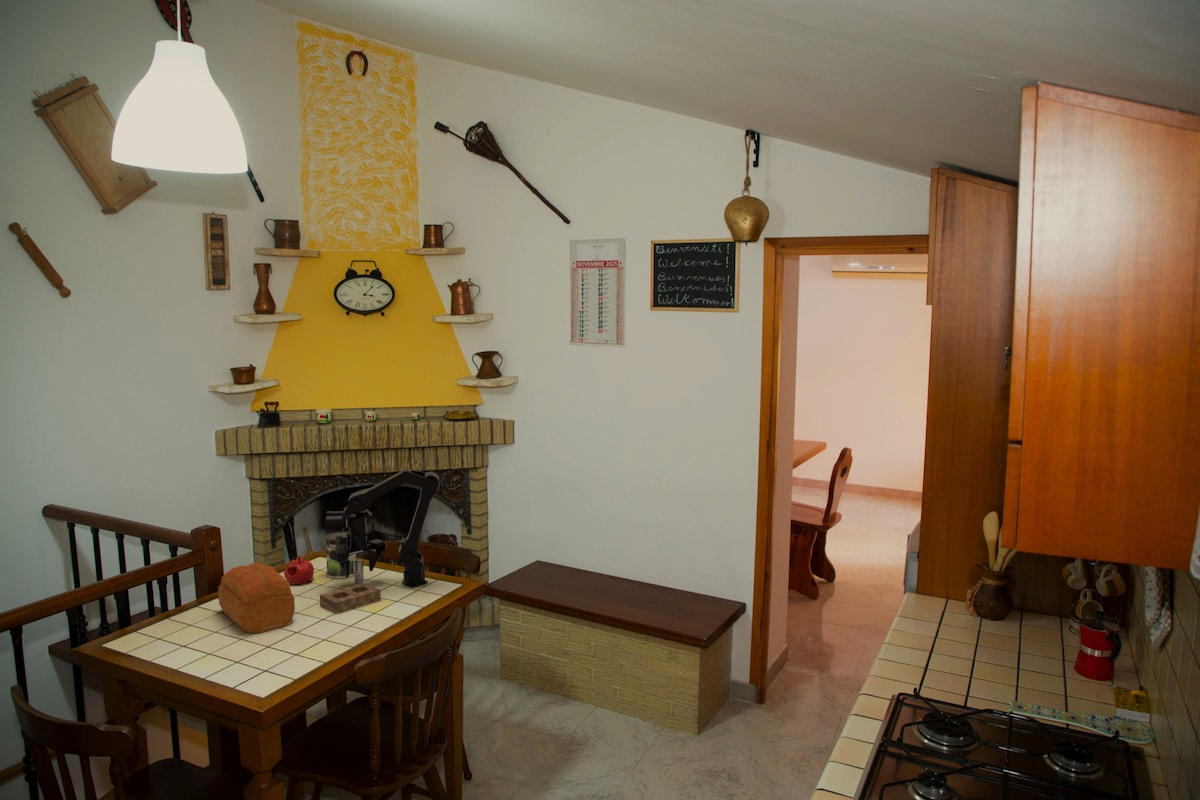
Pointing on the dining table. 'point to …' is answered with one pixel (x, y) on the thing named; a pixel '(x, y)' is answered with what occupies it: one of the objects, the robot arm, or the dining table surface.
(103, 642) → the dining table surface
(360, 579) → the peg
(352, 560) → the coffee can
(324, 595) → the socket block
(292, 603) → the bread
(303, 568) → the pomegranate
